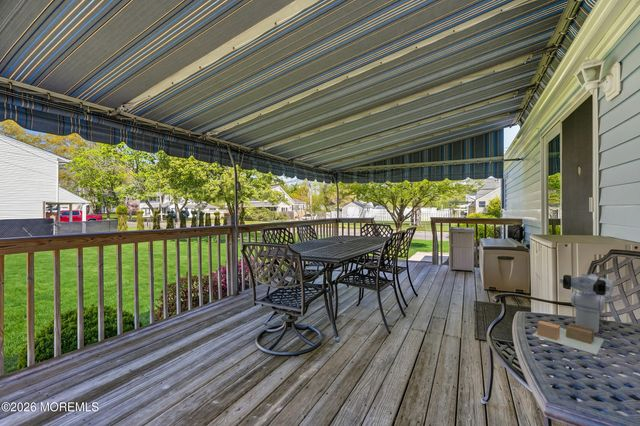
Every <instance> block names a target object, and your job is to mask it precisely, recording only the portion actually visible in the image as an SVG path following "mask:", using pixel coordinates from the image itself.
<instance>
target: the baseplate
mask: <svg viewBox="0 0 640 426" xmlns="http://www.w3.org/2000/svg"><path fill="white" fill-rule="evenodd" d="M531 336H533V337H536V338H539V339H543V340H547V341H549V342H552V343H556V344H560V345H563V346H566V347H569V348H572V349H576V350H580V351H584V352H587V353H590V354H593V355H595V356H597V354H598V353H599V350H600V348H601V347H602V345H603V343H604V341H605V339H604V338H602V337H601V338H600V337H597V336H594V340H593V341H592V343H591V344H589V343H585V342H582V341H578V340H575V339H571V338H567V337H566V328H563V327H560V337H559V338H558V339H557V340H554V339H551V338H548V337H544V336H541V335H537V330H536V331H535V332H534V333H533V334H532V335H531Z"/></svg>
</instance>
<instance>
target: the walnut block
mask: <svg viewBox="0 0 640 426" xmlns="http://www.w3.org/2000/svg"><path fill="white" fill-rule="evenodd" d="M565 329H566V337H567V338H571V339H575V340H578V341H582V342H585V343H589V344H591V343H592V341H593V340H594V337H595V333H594V328H590V327H586V326H582V325H578V324H575V323H573V322H569V324H567V325H566V328H565Z"/></svg>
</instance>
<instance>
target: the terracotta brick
mask: <svg viewBox="0 0 640 426" xmlns="http://www.w3.org/2000/svg"><path fill="white" fill-rule="evenodd" d="M560 328H561V325H559V324H555V323H551V322H548V321H546V320H545V321H544V320H539V321H538V322H537V330H536V331H537V335H541V336H544V337H548V338H551V339H554V340H557V339H558V338H559V337H560Z"/></svg>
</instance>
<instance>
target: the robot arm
mask: <svg viewBox="0 0 640 426" xmlns="http://www.w3.org/2000/svg"><path fill="white" fill-rule="evenodd" d="M559 284H562V288H563V289H565V290H572V288H573V289H575V290H576V291H572V293H571V296H570V297H571V298H570V302H571V305H572V306H573V307H574V309H575V319H574V321H575V323H574V324H578V325H582V326H586V327H590V328H594V334H596V333H597V334H598V333H599V331H600V330H599V329H600V328H599V327H600V313H603V312H604V311H605V308H606V297H611V296H612V295H613V291H614V281H613V280H611V279H609V278H605V277H600V276H597V274H593V273H591V274H585V273H582V274H580V275H579V276H575V277H572V275H571V274H564V275H563V276H562V277H560V278H559ZM578 291H579V292H578Z"/></svg>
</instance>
